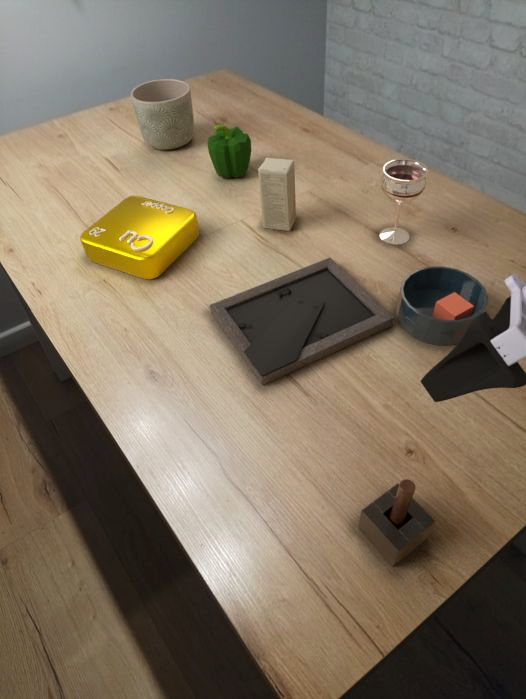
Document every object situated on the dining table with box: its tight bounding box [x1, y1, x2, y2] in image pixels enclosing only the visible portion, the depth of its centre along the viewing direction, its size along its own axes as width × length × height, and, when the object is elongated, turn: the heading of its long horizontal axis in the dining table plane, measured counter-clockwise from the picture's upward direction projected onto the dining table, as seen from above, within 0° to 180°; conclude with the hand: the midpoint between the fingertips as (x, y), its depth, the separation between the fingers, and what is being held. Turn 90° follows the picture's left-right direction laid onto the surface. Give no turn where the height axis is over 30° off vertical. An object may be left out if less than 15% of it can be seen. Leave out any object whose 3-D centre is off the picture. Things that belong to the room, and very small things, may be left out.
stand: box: [357, 482, 436, 568], centre depth 51 cm, size 5×5×4 cm
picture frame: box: [209, 257, 395, 386], centre depth 74 cm, size 16×2×21 cm
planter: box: [130, 78, 195, 151], centre depth 111 cm, size 12×12×11 cm
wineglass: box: [379, 158, 429, 246], centre depth 83 cm, size 7×7×12 cm
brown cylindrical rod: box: [389, 478, 417, 529], centre depth 49 cm, size 1×1×10 cm
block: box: [432, 292, 474, 320], centre depth 71 cm, size 4×4×4 cm
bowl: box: [395, 265, 489, 346], centre depth 72 cm, size 11×11×4 cm
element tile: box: [79, 195, 200, 280], centre depth 87 cm, size 15×15×5 cm
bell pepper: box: [206, 124, 252, 179], centre depth 100 cm, size 8×8×10 cm
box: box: [257, 157, 297, 232], centre depth 87 cm, size 5×4×11 cm
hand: (445, 377), depth 44 cm, fingers open, 7 cm apart
